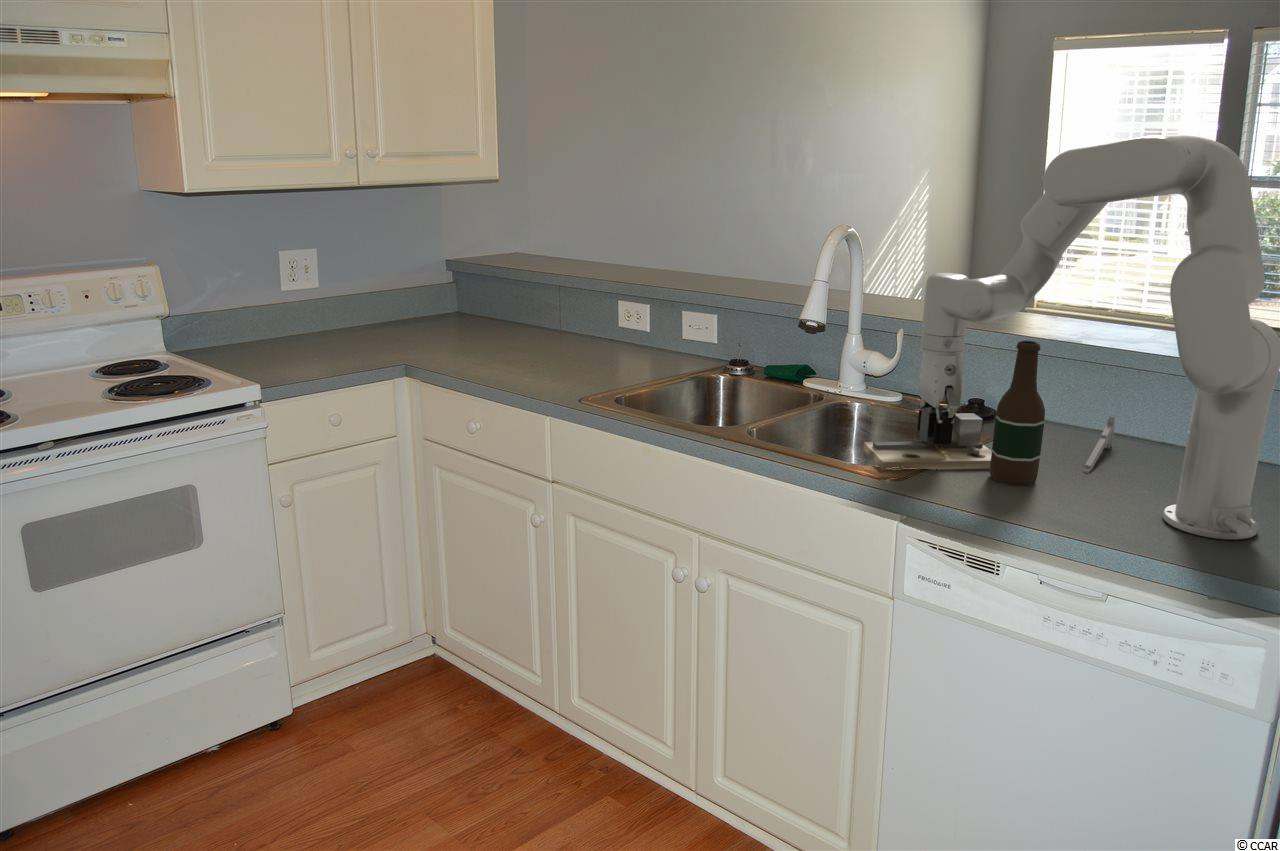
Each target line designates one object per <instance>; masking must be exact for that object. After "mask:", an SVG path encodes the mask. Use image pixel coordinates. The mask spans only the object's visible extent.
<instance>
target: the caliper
mask: <svg viewBox="0 0 1280 851" xmlns="http://www.w3.org/2000/svg"><path fill="white" fill-rule="evenodd" d="M1115 419H1116V417H1114V416H1109V417H1108V419H1107V424H1106V426H1104V429H1103V431H1102V432H1101V434H1100V437H1099V440H1098V441H1097V443H1096V445H1095V446H1094V449H1093V450H1092V452H1091V453H1090V455H1089V458H1088V459H1087V460H1086V463H1085V464H1084V468H1083V470H1082V473H1084V474H1090V472H1091V471H1092V470H1093V468H1094V467H1095V465H1096V463H1097V461H1099V460H1098V459H1099V458H1100V456H1101V455H1102V452H1103V450H1104V449H1107V450H1108V449H1109V450H1110V449H1111V447H1112V445H1113V442H1114V441H1113V440H1114V434H1115V426H1116V420H1115Z"/></svg>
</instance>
